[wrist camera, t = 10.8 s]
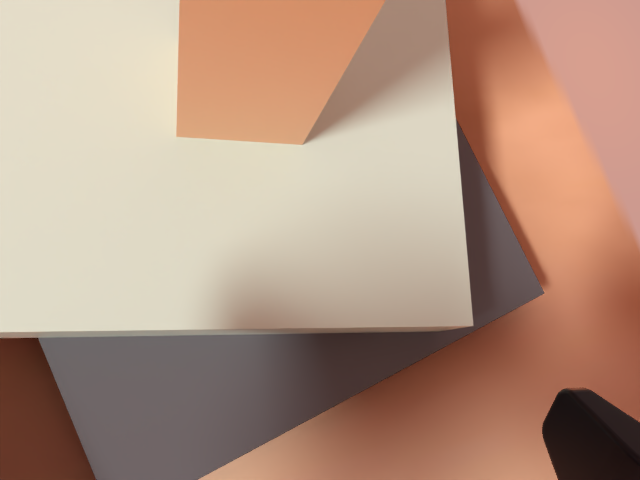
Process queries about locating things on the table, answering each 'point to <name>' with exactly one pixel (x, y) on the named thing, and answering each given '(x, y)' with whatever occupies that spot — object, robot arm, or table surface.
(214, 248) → the lid
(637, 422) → the robot arm
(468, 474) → the table surface
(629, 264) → the table surface
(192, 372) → the mat
